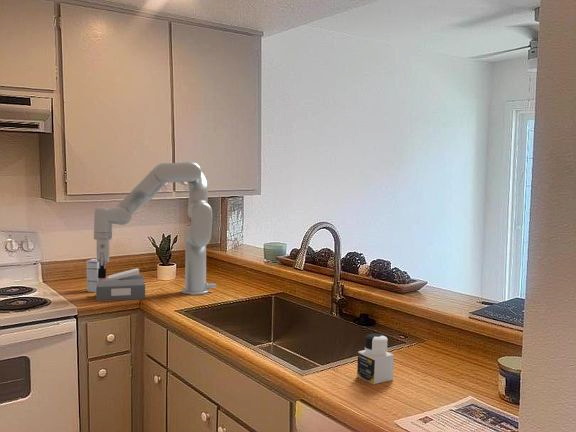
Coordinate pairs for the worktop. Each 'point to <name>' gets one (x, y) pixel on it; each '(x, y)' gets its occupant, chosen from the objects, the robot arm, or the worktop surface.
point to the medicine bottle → (375, 360)
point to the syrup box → (92, 275)
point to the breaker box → (121, 289)
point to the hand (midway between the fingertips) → (101, 277)
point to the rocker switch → (121, 275)
